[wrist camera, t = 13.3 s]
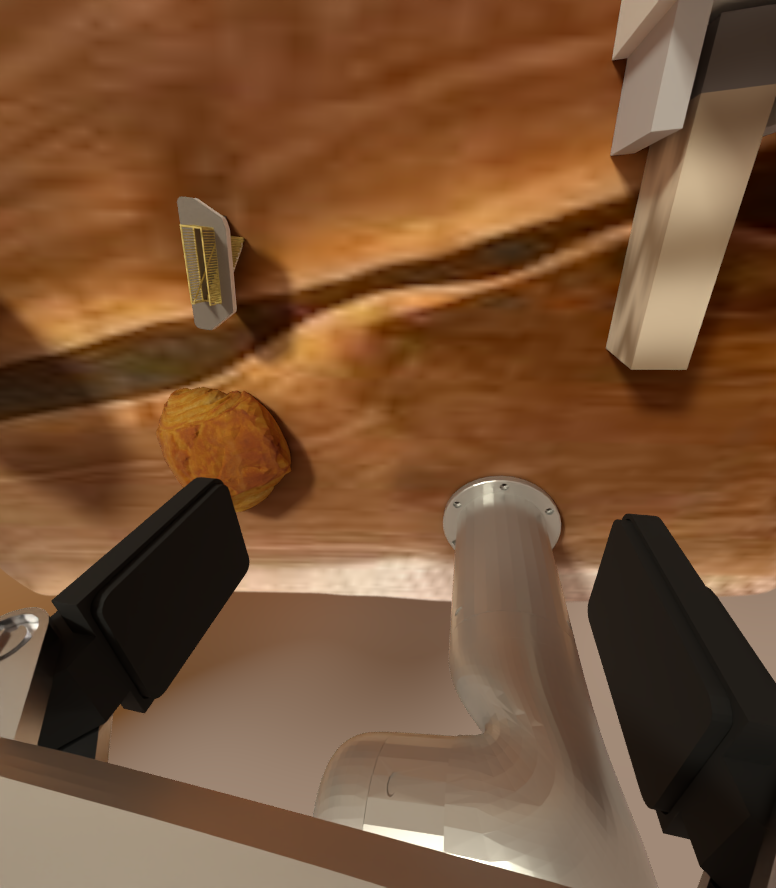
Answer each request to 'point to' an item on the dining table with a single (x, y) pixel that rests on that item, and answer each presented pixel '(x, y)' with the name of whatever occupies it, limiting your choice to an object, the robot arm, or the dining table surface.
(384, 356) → the dining table surface
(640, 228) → the rail
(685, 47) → the post
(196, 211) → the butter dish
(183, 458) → the croissant
